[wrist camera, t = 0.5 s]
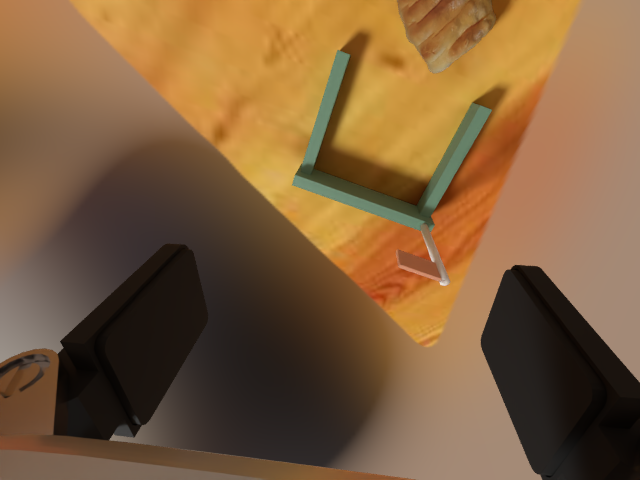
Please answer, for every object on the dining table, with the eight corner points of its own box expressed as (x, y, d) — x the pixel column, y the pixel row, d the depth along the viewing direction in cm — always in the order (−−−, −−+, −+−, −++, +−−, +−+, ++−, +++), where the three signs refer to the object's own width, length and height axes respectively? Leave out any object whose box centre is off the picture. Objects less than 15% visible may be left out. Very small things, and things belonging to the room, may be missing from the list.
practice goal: (336, 49, 30) (320, 40, 18) (485, 107, 31) (564, 135, 19) (298, 173, 37) (267, 227, 25) (423, 218, 38) (452, 291, 26)
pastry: (373, -5, 28) (374, -15, 25) (437, -79, 26) (449, -100, 22) (433, 79, 31) (442, 81, 28) (498, 21, 28) (517, 15, 25)
